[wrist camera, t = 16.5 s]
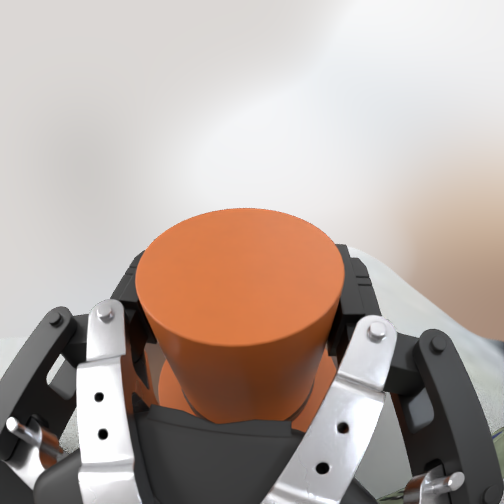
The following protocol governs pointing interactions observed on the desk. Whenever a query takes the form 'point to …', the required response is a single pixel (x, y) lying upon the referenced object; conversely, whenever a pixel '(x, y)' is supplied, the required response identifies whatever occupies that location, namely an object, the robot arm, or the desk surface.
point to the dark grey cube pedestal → (15, 486)
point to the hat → (243, 314)
